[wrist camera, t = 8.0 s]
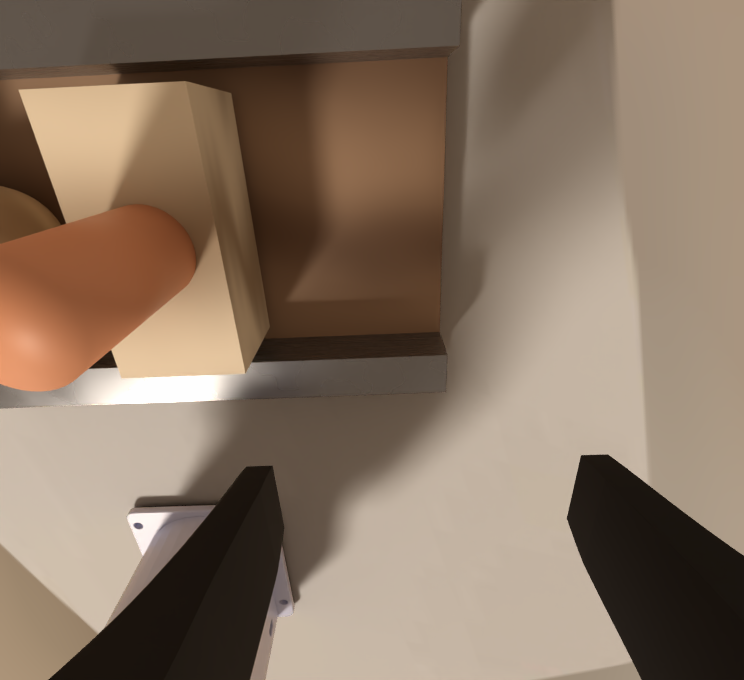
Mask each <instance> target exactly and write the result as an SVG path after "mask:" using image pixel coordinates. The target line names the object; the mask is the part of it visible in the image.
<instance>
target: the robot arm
mask: <svg viewBox="0 0 744 680" xmlns="http://www.w3.org/2000/svg"><path fill="white" fill-rule="evenodd" d="M127 520H128V522H129V525H130V527H131V530H132V532H133V534H134V537H135V539H136V541H137V544H138V546H139V548H140V551H141V553H142V556H143V557H142V559H141V561H140V563H139V565H138V566H137V568H136V570H135V572H134V574H133V576H132V578H131V579H130V581H129V583H128V585H127V587H126V589H125V591H124V592H123V594H122V596H121V598H120V600H119V602H118V604H117V606H116V607H115V609H114V611H113V613H112V615H111V617H110V619H109V620H108V622H107V624H106V626H105V628H104V629H103V630H102V631H101V632H100V633H99V634H98V635H97V636H96V637H95V638H94V639H93V640H92V641H91V642H90V643H89V644H87V645H86V646H85V647H84V648H83V649H82V650H81V651H80V652H79V653H78V654H77V655H75V657H73V658H72V659H71V660H70V661H69V662H68V663H67V664H66V665H64V666H63V667H62V668H61V669H60V670H59V671H58V672H57V673H56V674H54V675H53V676H52V677H51V678H50V679H49V680H265V679H266V674H267V668H268V663H269V658H270V653H271V648H272V643H273V638H274V632H275V627H276V622H277V617H286V616H290V615H292V614H293V613H294V607H295V606H294V601H293V596H292V591H291V586H290V581H289V576H288V571H287V566H286V561H285V556H284V551H283V546H282V540H283V532H284V523H283V518H282V513H281V508H280V503H279V497H278V492H277V487H276V482H275V477H274V472H273V466H253V467H246V468H245V469H244V470H243V471H242V472H241V474H240V475H239V476H238V478H237V479H236V480H235V481H234V483H233V484H232V485H231V487H230V488H229V489H228V490H227V492H226V493H225V494H224V496H223V497H222V498H221V499H220V501H219V502H218V503H217V505H202V506H171V507H140V508H133V509H131V510H130V512H129V513H128V515H127ZM567 520H568V523H569V526H570V529H571V531H572V534H573V537H574V540H575V543H576V545H577V548H578V551H579V553H580V556H581V558H582V561H583V564H584V566H585V568H586V570H587V572H588V574H589V576H590V578H591V580H592V582H593V584H594V586H595V588H596V590H597V592H598V594H599V596H600V598H601V600H602V602H603V604H604V606H605V608H606V610H607V612H608V614H609V616H610V618H611V620H612V622H613V624H614V626H615V628H616V629H617V631H618V633H619V635H620V637H621V639H622V641H623V643H624V645H625V647H626V649H627V651H628V653H629V655H630V657H631V659H632V661H633V663H634V665H635V667H636V669H637V671H638V673H639V675H640V677H641V679H642V680H744V556H743V555H742V554H740V553H739V552H737V551H736V550H735V549H733V548H732V547H730V546H729V545H728V544H726V543H725V542H723V541H722V540H721V539H719V538H718V537H716V536H715V535H714V534H712V533H711V532H709V531H708V530H707V529H705V528H704V527H703V526H701V525H700V524H699V523H697V522H696V521H695V520H693V519H692V518H691V517H689V516H688V515H687V514H685V513H684V512H683V511H681V510H680V509H679V508H677V507H676V506H675V505H673V504H672V503H671V502H669V501H668V500H667V499H666V498H664V497H663V496H662V495H660V494H659V493H658V492H656V491H655V490H654V489H653V488H651V487H650V486H649V485H647V484H646V483H645V482H644V481H642V480H641V479H640V478H638V477H637V476H636V475H634V474H633V473H632V472H631V471H629V470H628V469H627V468H625V467H624V466H623V465H621V464H620V463H619V462H617V461H616V460H615V459H613V458H612V457H611V456H609V455H581V458H580V463H579V467H578V472H577V476H576V480H575V485H574V489H573V494H572V498H571V502H570V507H569V511H568V516H567Z"/></svg>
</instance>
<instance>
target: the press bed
mask: <svg viewBox="0 0 744 680" xmlns="http://www.w3.org/2000/svg"><path fill="white" fill-rule="evenodd" d="M460 25H461V0H0V244H2V243H5V242H8V241H12V240H15V239H18V238H22V237H25V236H28V235H31V234H35V233H38V232H41V231H44V230H48V229H51V228H54V227H57V226H61V225H64V224H66V222H65V219H64V216H63V213H62V210H61V208H60V205H59V202H58V199H57V196H56V194H55V191H54V188H53V185H52V182H51V180H50V177H49V174H48V171H47V168H46V166H45V163H44V160H43V157H42V154H41V152H40V149H39V146H38V143H37V140H36V138H35V135H34V132H33V129H32V126H31V124H30V121H29V118H28V115H27V112H26V110H25V107H24V104H23V101H22V98H21V96H20V93H19V90H22V89H41V88H61V87H81V86H100V85H120V84H139V83H159V82H178V81H187V82H191V83H195V84H199V85H202V86H206V87H210V88H214V89H217V90H221V91H225V92H229V93H231V95H232V101H233V107H234V113H235V119H236V125H237V131H238V137H239V143H240V149H241V155H242V161H243V167H244V173H245V179H246V185H247V192H248V198H249V204H250V210H251V216H252V222H253V228H254V234H255V240H256V246H257V252H258V258H259V264H260V270H261V276H262V282H263V288H264V294H265V300H266V306H267V313H268V319H269V325H270V328H269V330H268V331H267V333H266V335H265V337H264V339H263V341H262V343H261V345H260V347H259V349H258V351H257V353H256V355H255V357H254V358H253V360H252V362H251V364H250V366H249V368H248V370H247V372H246V374H228V375H202V376H175V377H149V378H123V379H122V378H121V376H120V373H119V370H118V367H117V364H116V362H115V359H114V356H113V353H112V350H110V351H109V352H108V353H107V354H105V355H104V356H103V357H102V358H101V359H99V360H98V361H97V362H96V363H95V364H93V365H92V366H91V367H90V368H89V369H88V370H86V371H85V372H84V373H83V374H82V375H80V376H79V377H78V378H77V379H76V380H74V381H73V382H72V383H70V384H68V385H66V386H64V387H62V388H59V389H55V390H51V391H41V392H40V391H25V390H19V389H15V388H11V387H8V386H5V385H2V384H0V408H25V407H52V406H79V405H106V404H133V403H160V402H187V401H215V400H242V399H269V398H296V397H323V396H350V395H377V394H404V393H432V392H446V375H447V353H446V350H445V347H444V344H443V341H442V338H441V335H440V332H439V330H440V297H441V263H442V230H443V196H444V163H445V130H446V96H447V63H448V56H449V55H450V54H451V53H452V52H453V51H455V50H456V49H457V48H458V47H459V46H460Z"/></svg>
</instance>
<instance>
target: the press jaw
mask: <svg viewBox="0 0 744 680" xmlns="http://www.w3.org/2000/svg"><path fill="white" fill-rule="evenodd" d="M19 93H20V96H21V98H22V101H23V104H24V107H25V110H26V112H27V115H28V118H29V121H30V124H31V126H32V129H33V132H34V135H35V138H36V140H37V143H38V146H39V149H40V152H41V154H42V157H43V160H44V163H45V166H46V168H47V171H48V174H49V177H50V180H51V182H52V185H53V188H54V191H55V194H56V196H57V199H58V202H59V205H60V208H61V210H62V213H63V216H64V219H65V222H66V224H64V225H61V226H57V227H54V228H51V229H48V230H44V231H41V232H38V233H35V234H31V235H28V236H25V237H22V238H18V239H15V240H12V241H8V242H5V243H2V244H0V384H2V385H5V386H8V387H11V388H15V389H19V390H25V391H40V392H41V391H51V390H55V389H59V388H62V387H64V386H66V385H68V384H70V383H72V382H73V381H74V380H76V379H77V378H78V377H79V376H80V375H82V374H83V373H84V372H85V371H86V370H88V369H89V368H90V367H91V366H92V365H93V364H95V363H96V362H97V361H98V360H99V359H101V358H102V357H103V356H104V355H105V354H107V353H108V352H109V351H110V350H112V353H113V356H114V359H115V362H116V364H117V367H118V370H119V373H120V376H121V378H122V379H123V378H149V377H175V376H202V375H228V374H246V372H247V370H248V368H249V366H250V364H251V362H252V360H253V358H254V357H255V355H256V353H257V351H258V349H259V347H260V345H261V343H262V341H263V339H264V337H265V335H266V333H267V331H268V330H269V328H270V325H269V319H268V313H267V306H266V300H265V294H264V288H263V282H262V276H261V270H260V264H259V258H258V252H257V246H256V240H255V234H254V228H253V222H252V216H251V210H250V204H249V198H248V192H247V185H246V179H245V173H244V167H243V161H242V155H241V149H240V143H239V137H238V131H237V125H236V119H235V113H234V107H233V101H232V95H231V93H229V92H225V91H221V90H217V89H214V88H210V87H206V86H202V85H199V84H195V83H191V82H187V81H178V82H159V83H139V84H120V85H100V86H81V87H61V88H41V89H22V90H19Z"/></svg>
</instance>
